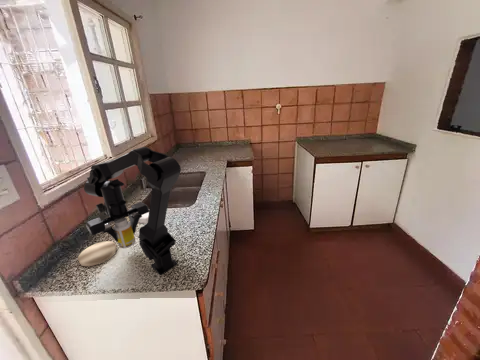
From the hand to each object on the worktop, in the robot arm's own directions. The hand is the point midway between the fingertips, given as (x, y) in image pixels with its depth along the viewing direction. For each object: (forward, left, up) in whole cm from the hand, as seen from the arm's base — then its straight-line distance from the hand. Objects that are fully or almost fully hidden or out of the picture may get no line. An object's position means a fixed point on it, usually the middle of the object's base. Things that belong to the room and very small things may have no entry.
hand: (125, 237), depth 78 cm
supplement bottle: (0, 0, -3) cm, 3 cm away
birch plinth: (+9, +8, -7) cm, 14 cm away
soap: (+20, -14, -8) cm, 26 cm away
